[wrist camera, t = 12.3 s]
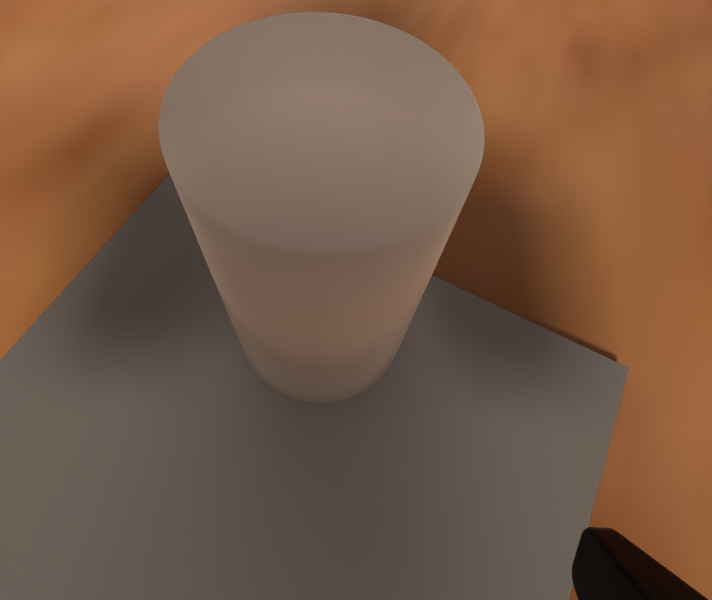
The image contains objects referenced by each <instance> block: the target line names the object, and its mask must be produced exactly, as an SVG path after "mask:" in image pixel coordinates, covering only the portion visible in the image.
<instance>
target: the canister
mask: <svg viewBox="0 0 712 600" xmlns="http://www.w3.org/2000/svg"><path fill="white" fill-rule="evenodd" d="M158 133H159V140H160V147H161V151H162V154H163V157H164V160H165V163H166V166H167V168H168V171H169V173H170V175H171V178H172V180H173V183H174V185H175V187H176V190H177V192H178V195H179V197H180V200H181V202H182V204H183V207H184V209H185V212H186V214H187V216H188V219H189V221H190V224H191V226H192V228H193V231H194V233H195V236H196V238H197V241H198V243H199V245H200V248H201V250H202V253H203V255H204V257H205V260H206V262H207V265H208V267H209V269H210V272H211V274H212V277H213V279H214V282H215V284H216V286H217V289H218V291H219V294H220V296H221V298H222V301H223V303H224V306H225V308H226V310H227V313H228V315H229V318H230V320H231V322H232V325H233V327H234V330H235V332H236V335H237V337H238V339H239V342H240V344H241V347H242V349H243V351H244V354H245V356H246V358H247V360H248V362H249V364H250V366H251V367H252V369H253V370H254V371H255V373H256V374H257V375H258V376H259V377H260V378H261V379H262V380H263V381H264V382H265V383H266V384H267V385H269V386H270V387H271V388H272V389H274V390H276V391H277V392H279V393H281V394H283V395H285V396H288V397H290V398H292V399H296V400H300V401H304V402H311V403H329V402H337V401H341V400H345V399H348V398H351V397H353V396H355V395H358V394H360V393H361V392H363V391H365V390H367V389H368V388H369V387H371V386H372V385H373V384H375V383H376V382H377V381H378V380H379V379H380V378H381V377H382V376H383V375H384V374H385V372H386V371H387V370H388V368H389V367H390V365H391V363H392V361H393V360H394V358H395V356H396V353H397V351H398V349H399V347H400V345H401V342H402V340H403V338H404V336H405V333H406V331H407V329H408V327H409V325H410V322H411V320H412V318H413V316H414V314H415V311H416V309H417V307H418V305H419V302H420V300H421V298H422V296H423V294H424V291H425V289H426V287H427V285H428V283H429V280H430V278H431V276H432V274H433V271H434V269H435V267H436V265H437V263H438V260H439V258H440V256H441V254H442V252H443V249H444V247H445V245H446V243H447V241H448V238H449V236H450V234H451V232H452V229H453V227H454V225H455V223H456V221H457V218H458V216H459V214H460V212H461V210H462V207H463V205H464V203H465V201H466V198H467V196H468V194H469V192H470V190H471V187H472V185H473V183H474V181H475V179H476V176H477V173H478V171H479V168H480V165H481V162H482V157H483V151H484V126H483V120H482V115H481V112H480V109H479V106H478V103H477V100H476V99H475V97H474V95H473V93H472V91H471V89H470V87H469V86H468V84H467V83H466V81H465V80H464V79H463V77H462V76H461V74H460V73H459V72H458V71H457V70H456V69H455V68H454V67H453V66H452V64H451V63H450V62H449V61H448V60H446V59H445V58H444V57H443V56H442V55H441V54H439V53H438V52H437V51H436V50H434V49H433V48H431V47H430V46H429V45H427V44H426V43H424V42H423V41H421V40H419V39H417V38H416V37H414V36H412V35H410V34H408V33H406V32H404V31H402V30H400V29H397V28H395V27H393V26H390V25H387V24H384V23H381V22H378V21H375V20H372V19H367V18H363V17H359V16H354V15H348V14H341V13H330V12H297V13H288V14H280V15H275V16H270V17H265V18H261V19H258V20H255V21H251V22H248V23H245V24H243V25H240V26H238V27H235V28H233V29H230V30H228V31H226V32H225V33H223V34H221V35H219V36H217V37H215V38H214V39H212V40H211V41H209V42H208V43H206V44H205V45H204V46H202V47H201V48H200V49H198V50H197V51H196V52H195V53H194V54H193V55H192V56H191V57H189V58H188V59H187V61H186V62H185V63H184V64H183V65H182V66H181V68H180V69H179V70H178V71H177V73H176V74H175V76H174V78H173V79H172V81H171V82H170V84H169V86H168V88H167V91H166V93H165V95H164V98H163V100H162V105H161V109H160V114H159V130H158Z"/></svg>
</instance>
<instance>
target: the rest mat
mask: <svg viewBox="0 0 712 600" xmlns="http://www.w3.org/2000/svg"><path fill="white" fill-rule="evenodd" d="M628 369H629V368H628V367H626V366H624V365H622V364H620V363H617V362H615V361H613V360H611V359H609V358H607V357H605V356H603V355H600V354H598V353H596V352H594V351H592V350H590V349H588V348H586V347H584V346H581V345H579V344H577V343H575V342H573V341H571V340H569V339H567V338H565V337H562V336H560V335H558V334H556V333H554V332H552V331H550V330H548V329H546V328H543V327H541V326H539V325H537V324H535V323H533V322H531V321H529V320H526V319H524V318H522V317H520V316H518V315H516V314H514V313H512V312H510V311H507V310H505V309H503V308H501V307H499V306H497V305H495V304H493V303H491V302H488V301H486V300H484V299H482V298H480V297H478V296H476V295H474V294H472V293H469V292H467V291H465V290H463V289H461V288H459V287H457V286H455V285H453V284H450V283H448V282H446V281H444V280H442V279H440V278H438V277H436V276H433V275H432V276H431V278H430V280H429V283H428V285H427V287H426V289H425V291H424V294H423V296H422V298H421V300H420V302H419V305H418V307H417V309H416V311H415V314H414V316H413V318H412V320H411V322H410V325H409V327H408V329H407V331H406V333H405V336H404V338H403V340H402V342H401V345H400V347H399V349H398V351H397V353H396V356H395V358H394V360H393V361H392V363H391V365H390V367H389V368H388V370H387V371H386V372H385V374H384V375H383V376H382V377H381V378H380V379H379V380H378V381H377V382H376V383H375V384H373V385H372V386H371V387H369V388H368V389H367V390H365V391H363V392H361V393H360V394H358V395H355V396H353V397H351V398H348V399H345V400H341V401H337V402H329V403H311V402H304V401H300V400H296V399H292V398H290V397H288V396H285V395H283V394H281V393H279V392H277V391H276V390H274V389H272V388H271V387H270V386H269V385H267V384H266V383H265V382H264V381H263V380H262V379H261V378H260V377H259V376H258V375H257V374H256V373H255V371H254V370H253V369H252V367H251V366H250V364H249V362H248V360H247V358H246V356H245V354H244V351H243V349H242V347H241V344H240V342H239V339H238V337H237V335H236V332H235V330H234V327H233V325H232V322H231V320H230V318H229V315H228V313H227V310H226V308H225V306H224V303H223V301H222V298H221V296H220V294H219V291H218V289H217V286H216V284H215V282H214V279H213V277H212V274H211V272H210V269H209V267H208V265H207V262H206V260H205V257H204V255H203V253H202V250H201V248H200V245H199V243H198V241H197V238H196V236H195V233H194V231H193V228H192V226H191V224H190V221H189V219H188V216H187V214H186V212H185V209H184V207H183V204H182V202H181V200H180V197H179V195H178V192H177V190H176V187H175V185H174V183H173V180H172V178H171V175H170V174H169V175H168V176H167V177H166V178H165V179H164V180H163V182H162V183H161V184H160V185H159V186H158V187H157V188H156V189H155V190H154V191H153V193H152V194H151V195H150V196H149V197H148V198H147V199H146V200H145V201H144V202H143V204H142V205H141V206H140V207H139V208H138V209H137V210H136V211H135V212H134V213H133V215H132V216H131V217H130V218H129V219H128V220H127V221H126V222H125V223H124V224H123V226H122V227H121V228H120V229H119V230H118V231H117V232H116V233H115V234H114V236H113V237H112V238H111V239H110V240H109V241H108V242H107V243H106V244H105V245H104V247H103V248H102V249H101V250H100V251H99V252H98V253H97V254H96V255H95V256H94V258H93V259H92V260H91V261H90V262H89V263H88V264H87V265H86V266H85V267H84V269H83V270H82V271H81V272H80V273H79V274H78V275H77V276H76V277H75V278H74V280H73V281H72V282H71V283H70V284H69V285H68V286H67V287H66V288H65V289H64V291H63V292H62V293H61V294H60V295H59V296H58V297H57V298H56V299H55V300H54V302H53V303H52V304H51V305H50V306H49V307H48V308H47V309H46V310H45V311H44V313H43V314H42V315H41V316H40V317H39V318H38V319H37V320H36V321H35V322H34V324H33V325H32V326H31V327H30V328H29V329H28V330H27V331H26V332H25V334H24V335H23V336H22V337H21V338H20V339H19V340H18V341H17V342H16V343H15V345H14V346H13V347H12V348H11V349H10V350H9V351H8V352H7V353H6V354H5V356H4V357H3V358H2V359H1V360H0V600H570V596H571V592H572V588H573V580H572V564H573V561H574V557H575V554H576V551H577V547H578V544H579V540H580V537H581V534H582V532H583V530H584V529H586V528H588V525H589V521H590V518H591V514H592V510H593V506H594V502H595V498H596V494H597V490H598V486H599V482H600V478H601V475H602V471H603V467H604V463H605V459H606V455H607V451H608V447H609V443H610V439H611V436H612V432H613V428H614V424H615V420H616V416H617V412H618V408H619V404H620V400H621V397H622V393H623V389H624V385H625V381H626V377H627V373H628Z"/></svg>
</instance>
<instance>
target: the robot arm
mask: <svg viewBox="0 0 712 600" xmlns="http://www.w3.org/2000/svg"><path fill="white" fill-rule="evenodd" d="M572 580H573V584H574V588H575V591H576V594H577V597H578V600H708V599H707V598H705V597H704V596H703V595H701V594H700V593H699V592H697V591H696V590H695V589H693V588H692V587H691V586H689V585H688V584H687V583H685V582H684V581H683V580H681V579H680V578H679V577H677V576H676V575H675V574H673V573H672V572H671V571H669V570H668V569H667V568H665V567H664V566H663V565H661V564H660V563H659V562H657V561H656V560H655V559H653V558H652V557H651V556H649V555H648V554H646V553H645V552H644V551H642V550H641V549H640V548H638V547H637V546H636V545H634V544H633V543H632V542H630V541H629V540H628V539H626V538H625V537H624V536H622V535H621V534H620V533H618V532H617V531H615V530H613V529H611V528H598V527H588V528H586V529H584V530H583V532H582V534H581V537H580V540H579V544H578V547H577V551H576V554H575V557H574V561H573V564H572Z"/></svg>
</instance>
